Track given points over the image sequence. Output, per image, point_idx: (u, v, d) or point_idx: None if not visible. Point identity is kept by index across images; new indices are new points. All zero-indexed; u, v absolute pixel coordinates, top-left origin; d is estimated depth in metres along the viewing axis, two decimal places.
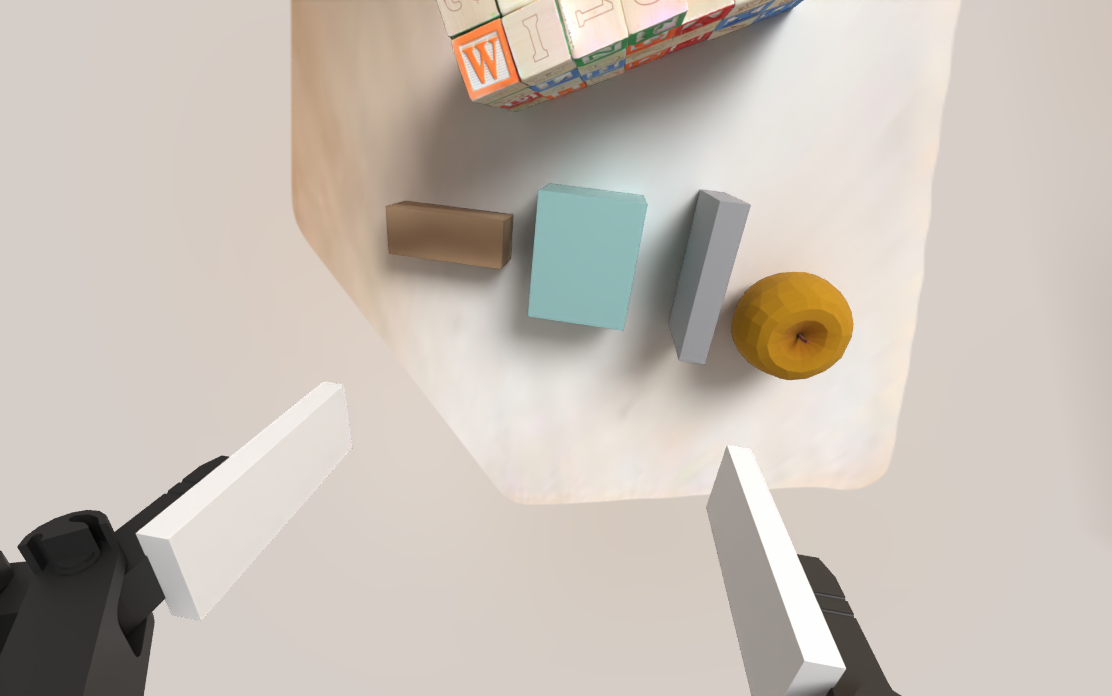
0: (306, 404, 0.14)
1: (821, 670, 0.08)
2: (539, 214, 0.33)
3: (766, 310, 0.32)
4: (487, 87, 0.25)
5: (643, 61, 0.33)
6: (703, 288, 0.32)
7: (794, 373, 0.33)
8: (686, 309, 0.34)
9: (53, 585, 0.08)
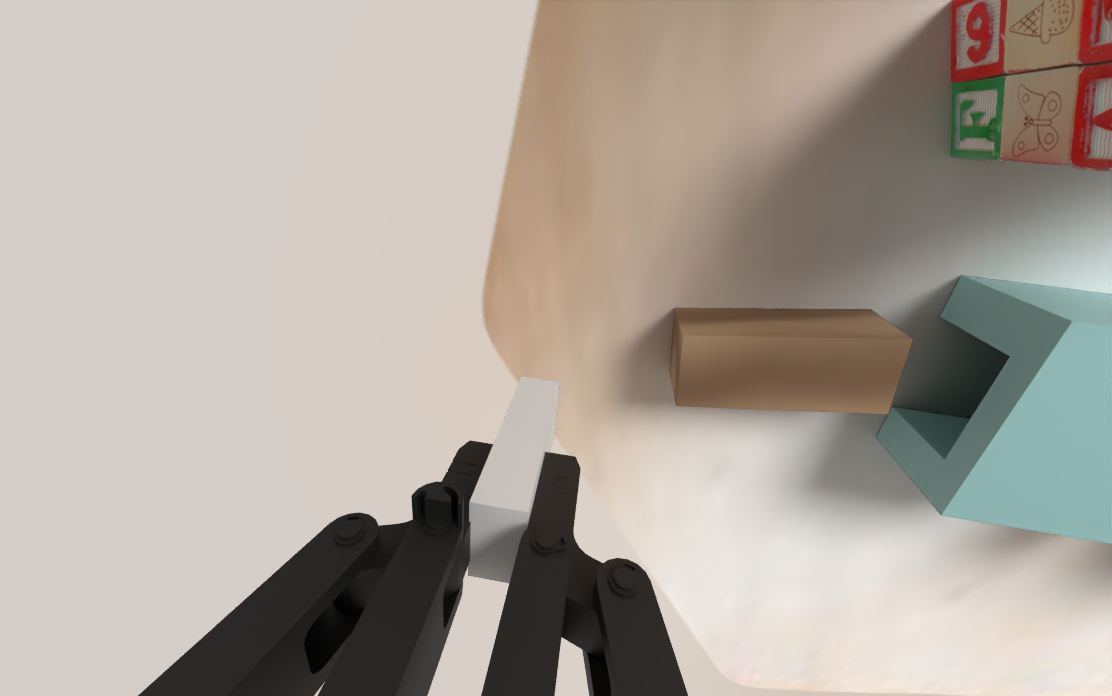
0: (523, 396, 0.15)
1: (513, 515, 0.11)
2: (1051, 362, 0.17)
3: None
4: None
5: None
6: None
7: None
8: None
9: (419, 537, 0.10)
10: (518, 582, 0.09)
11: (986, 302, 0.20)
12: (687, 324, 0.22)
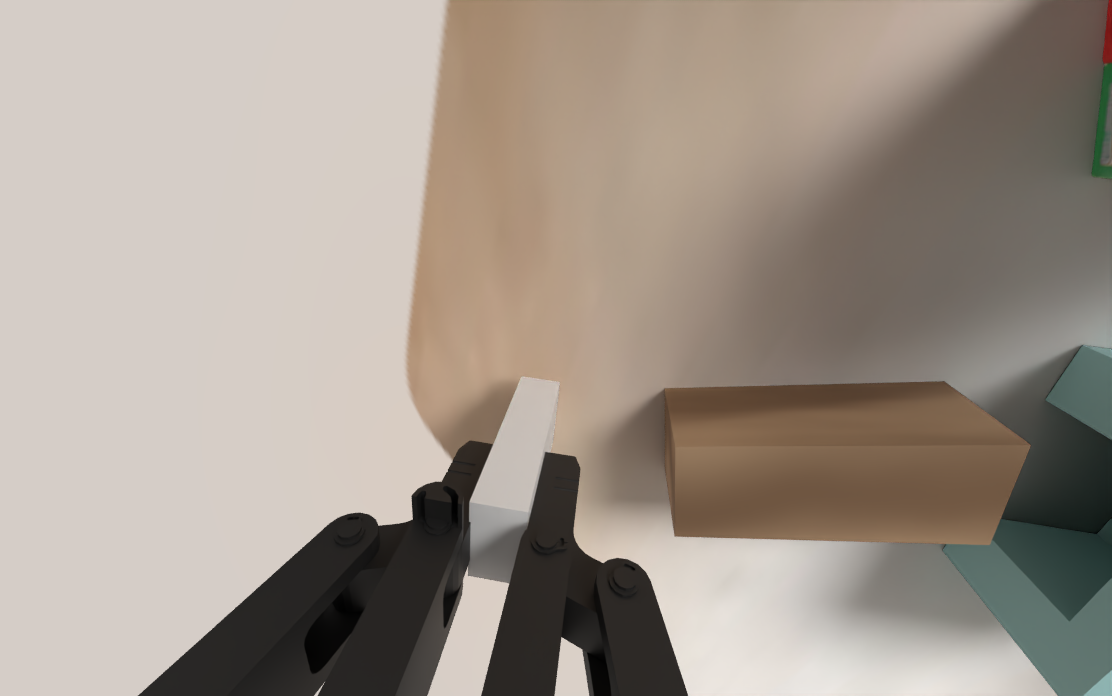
0: (522, 396, 0.15)
1: (513, 515, 0.11)
2: None
3: None
4: None
5: None
6: None
7: None
8: None
9: (419, 537, 0.10)
10: (518, 582, 0.09)
11: None
12: (682, 422, 0.15)
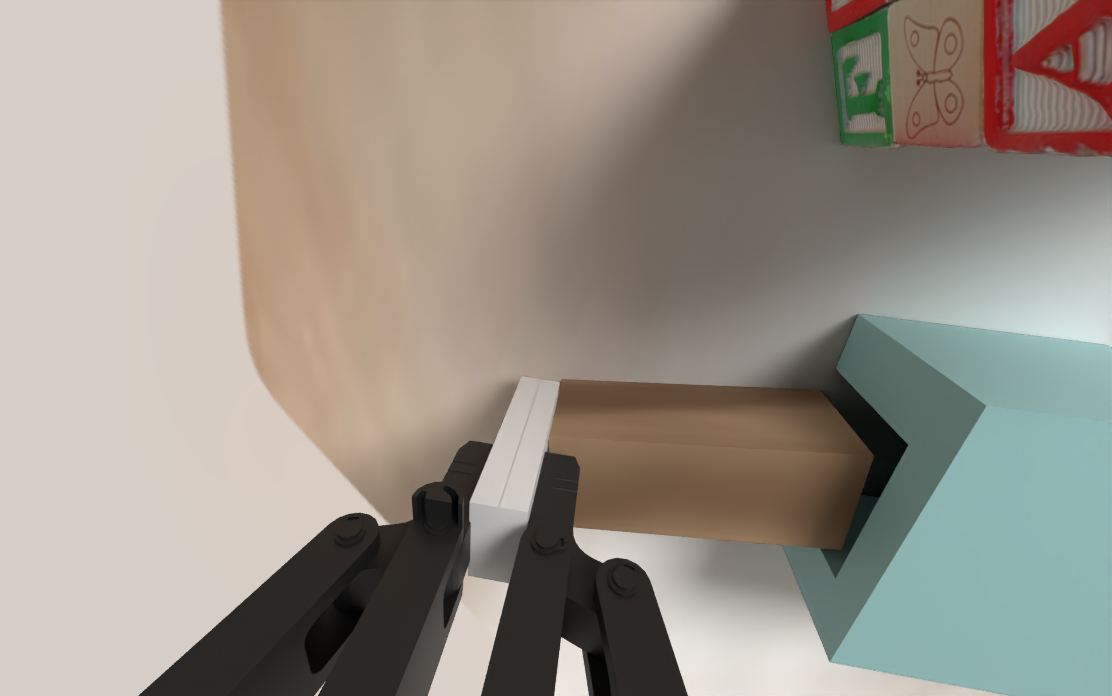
0: (523, 396, 0.15)
1: (513, 515, 0.11)
2: (961, 465, 0.11)
3: None
4: None
5: None
6: None
7: None
8: None
9: (419, 538, 0.10)
10: (518, 582, 0.09)
11: (883, 357, 0.14)
12: (564, 414, 0.16)
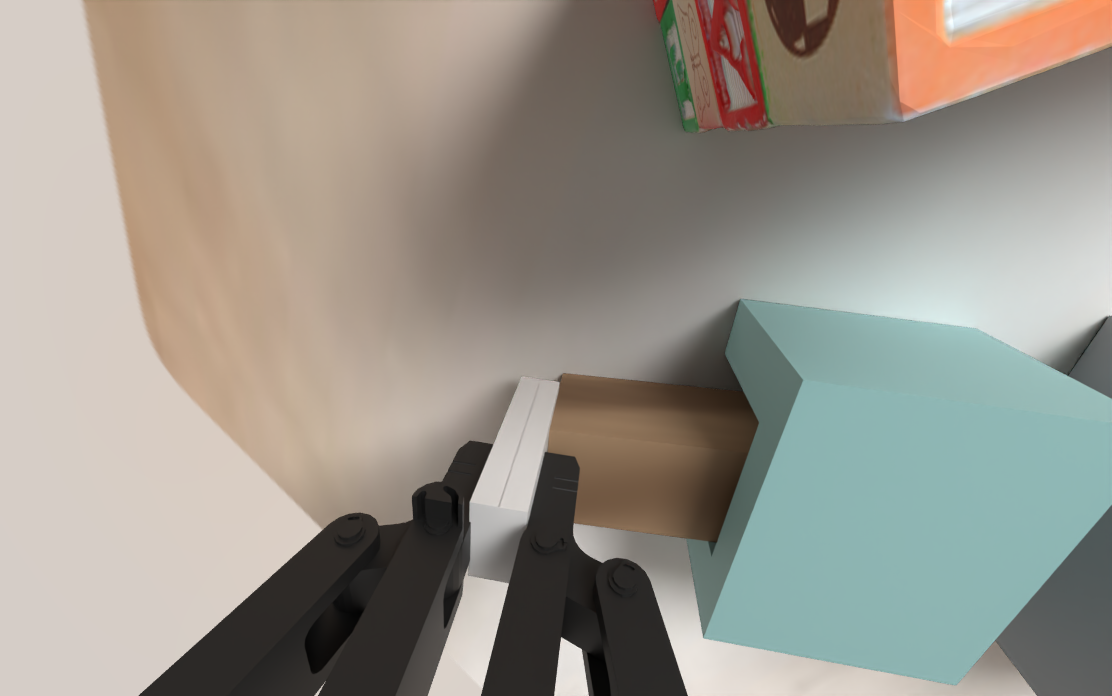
0: (522, 396, 0.15)
1: (512, 515, 0.11)
2: (790, 439, 0.11)
3: None
4: None
5: None
6: None
7: None
8: None
9: (419, 537, 0.10)
10: (518, 582, 0.09)
11: (751, 339, 0.14)
12: (565, 408, 0.16)
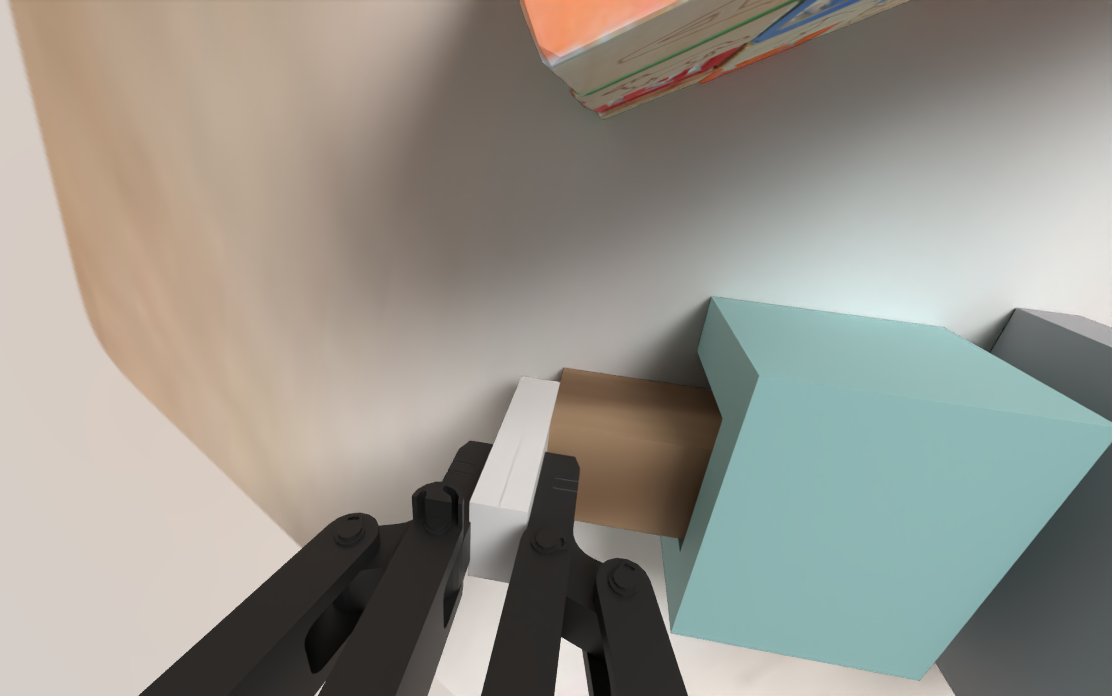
0: (522, 396, 0.15)
1: (513, 515, 0.11)
2: (748, 435, 0.11)
3: None
4: None
5: None
6: None
7: None
8: (1029, 648, 0.13)
9: (419, 538, 0.10)
10: (518, 582, 0.09)
11: (719, 337, 0.14)
12: (566, 403, 0.15)
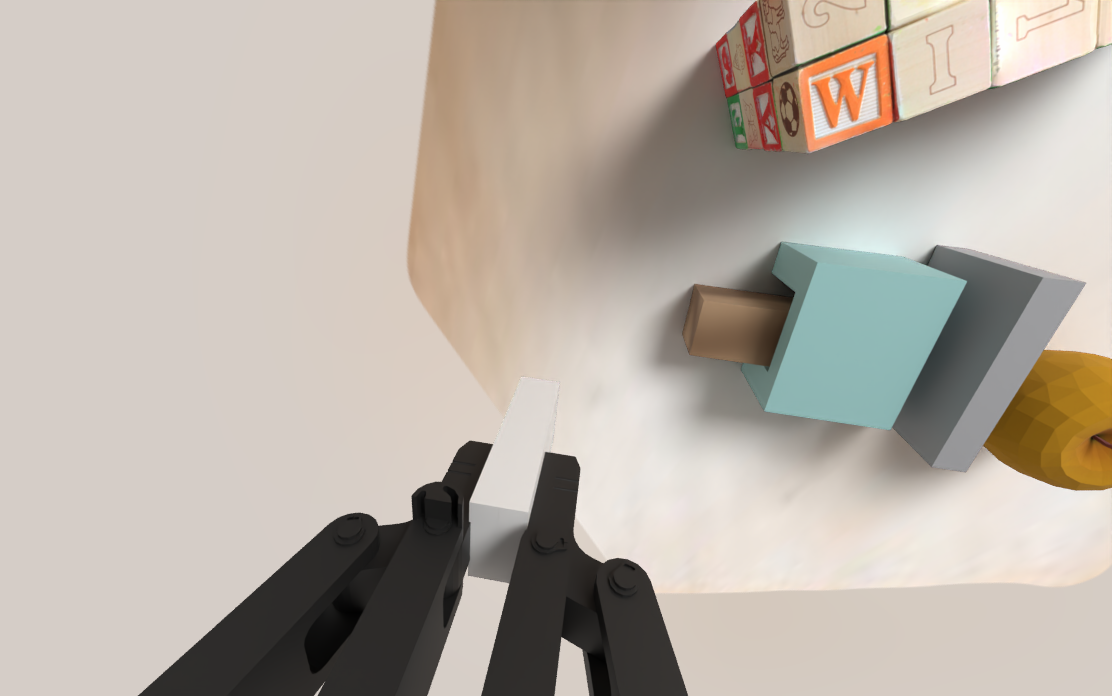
0: (522, 396, 0.15)
1: (513, 515, 0.11)
2: (811, 291, 0.25)
3: (1063, 409, 0.25)
4: (838, 133, 0.17)
5: None
6: (989, 383, 0.24)
7: (1090, 485, 0.26)
8: (939, 401, 0.27)
9: (419, 537, 0.10)
10: (518, 582, 0.09)
11: (789, 258, 0.28)
12: (706, 294, 0.30)
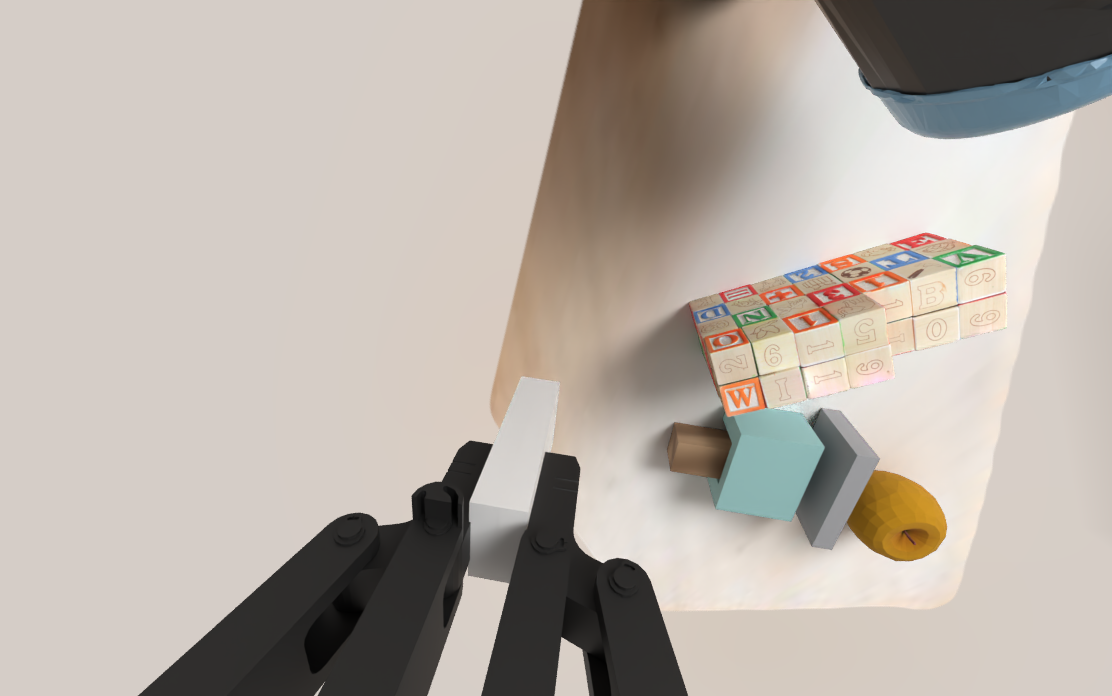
0: (522, 396, 0.15)
1: (513, 515, 0.11)
2: (739, 448, 0.44)
3: (882, 517, 0.44)
4: (740, 410, 0.36)
5: None
6: (837, 504, 0.43)
7: (901, 559, 0.45)
8: (816, 507, 0.46)
9: (419, 538, 0.10)
10: (518, 582, 0.09)
11: (730, 418, 0.47)
12: (680, 435, 0.49)
